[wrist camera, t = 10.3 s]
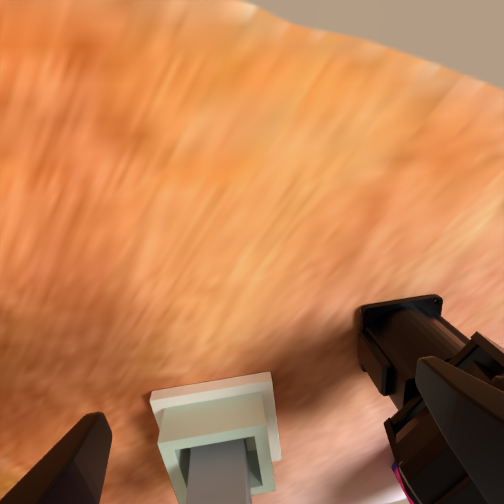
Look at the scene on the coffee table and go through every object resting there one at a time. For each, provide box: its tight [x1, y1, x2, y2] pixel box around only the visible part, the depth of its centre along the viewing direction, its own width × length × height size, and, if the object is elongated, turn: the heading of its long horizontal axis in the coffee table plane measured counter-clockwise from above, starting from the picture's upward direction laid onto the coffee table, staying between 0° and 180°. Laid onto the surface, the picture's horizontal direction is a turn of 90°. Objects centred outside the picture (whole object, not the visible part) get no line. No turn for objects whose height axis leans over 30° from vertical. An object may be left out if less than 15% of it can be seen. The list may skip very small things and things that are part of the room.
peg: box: [186, 438, 252, 504], centre depth 21 cm, size 4×4×10 cm
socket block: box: [150, 371, 282, 504], centre depth 25 cm, size 10×10×4 cm
